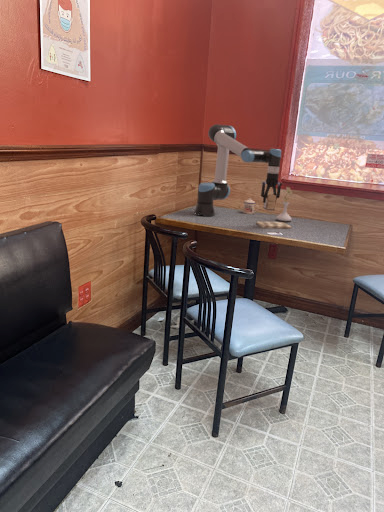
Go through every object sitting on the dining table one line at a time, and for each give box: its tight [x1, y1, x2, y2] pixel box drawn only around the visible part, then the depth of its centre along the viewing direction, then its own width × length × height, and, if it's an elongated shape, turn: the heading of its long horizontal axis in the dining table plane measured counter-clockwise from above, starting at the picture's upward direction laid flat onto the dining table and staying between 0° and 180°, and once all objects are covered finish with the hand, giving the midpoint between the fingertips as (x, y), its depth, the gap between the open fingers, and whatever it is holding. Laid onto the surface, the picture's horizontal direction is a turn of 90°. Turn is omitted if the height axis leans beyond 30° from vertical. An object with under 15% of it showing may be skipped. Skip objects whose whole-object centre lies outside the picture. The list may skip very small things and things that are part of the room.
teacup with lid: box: [242, 197, 259, 215], centre depth 315 cm, size 12×9×12 cm
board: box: [255, 221, 292, 230], centre depth 274 cm, size 20×14×2 cm
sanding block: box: [262, 193, 277, 212], centre depth 268 cm, size 9×5×10 cm, turn 10°
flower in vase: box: [275, 186, 293, 222], centre depth 293 cm, size 13×11×25 cm
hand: (268, 207), depth 270 cm, fingers closed on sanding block, 5 cm apart
